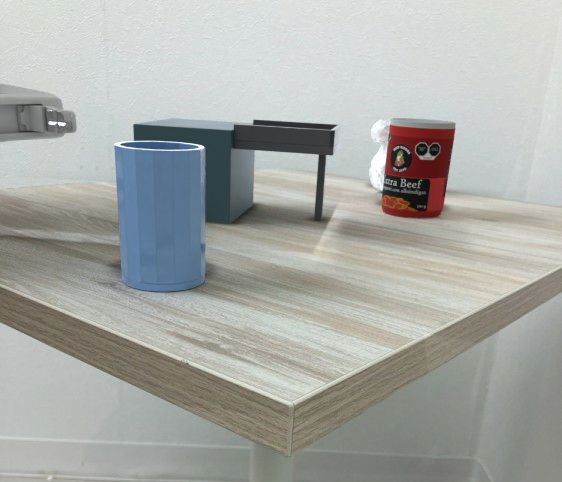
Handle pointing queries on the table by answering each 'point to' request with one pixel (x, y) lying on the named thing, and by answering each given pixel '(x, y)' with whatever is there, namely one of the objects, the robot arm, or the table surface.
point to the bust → (379, 153)
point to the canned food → (417, 167)
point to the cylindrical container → (161, 214)
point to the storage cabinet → (243, 155)
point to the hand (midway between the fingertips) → (29, 124)
